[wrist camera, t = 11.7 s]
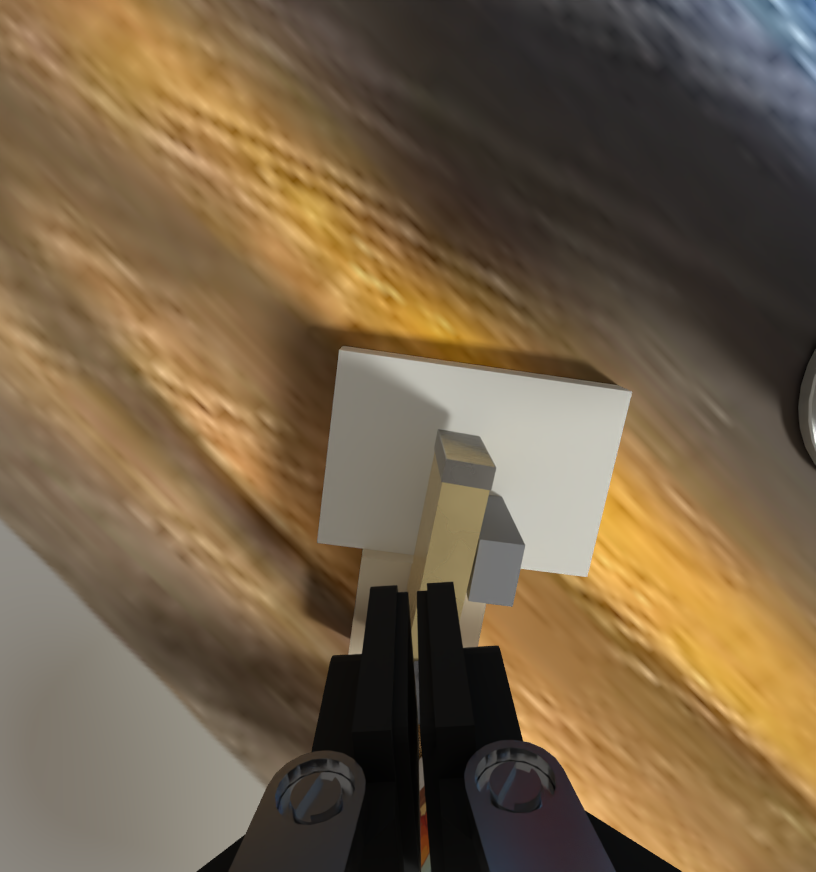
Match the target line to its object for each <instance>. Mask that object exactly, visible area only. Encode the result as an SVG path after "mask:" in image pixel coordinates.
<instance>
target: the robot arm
mask: <svg viewBox="0 0 816 872" xmlns="http://www.w3.org/2000/svg"><path fill="white" fill-rule="evenodd" d="M798 411H799V425H800V431H801V434H802V438H803V441H804V445H805V448H806V449H807V451H808V453H809V455H810V457H811V458H812V460H813V462H814V464H815V465H816V349H815V351H814V353H813V355H812V357H811V359H810V361H809V363H808V365H807V368H806V371H805V374H804V378H803V381H802V384H801V389H800V397H799V405H798ZM417 629H418V669H419V710H420V734H421V749H422V762H423V775H424V788H425V800H426V813H427V826H428V839H429V852H430V865H431V872H682V871H680V870H679V869H677V868H675V867H674V866H672V865H671V864H669V863H668V862H666V861H664V860H663V859H661V858H660V857H658V856H656V855H655V854H653V853H652V852H650V851H648V850H647V849H645V848H644V847H642V846H641V845H639V844H637V843H636V842H634V841H633V840H631V839H629V838H628V837H626V836H625V835H623V834H621V833H620V832H618V831H617V830H615V829H614V828H612V827H610V826H609V825H607V824H606V823H604V822H602V821H601V820H599V819H598V818H596V817H595V816H593V815H591V814H590V813H588V812H587V811H585V810H584V808H583V806H582V804H581V802H580V800H579V798H578V796H577V795H576V793H575V791H574V789H573V787H572V785H571V783H570V781H569V779H568V777H567V775H566V773H565V771H564V769H563V768H562V766H561V765H560V764H559V762H558V761H557V760H556V758H555V757H554V756H552V755H551V754H550V753H548V752H547V751H546V750H545V749H543V748H541V747H538V746H536V745H534V744H532V743H529V742H524V741H523V739H522V735H521V731H520V727H519V723H518V719H517V715H516V711H515V707H514V703H513V699H512V695H511V691H510V687H509V683H508V679H507V675H506V671H505V667H504V663H503V659H502V655H501V651H500V648H499V646H483V647H466V648H463V643H462V637H461V630H460V623H459V616H458V610H457V603H456V596H455V590H454V583H453V582H437V583H427V590H425V591H417ZM197 872H421V834H420V786H419V738H418V710H417V696H416V683H415V671H414V658H413V645H412V632H411V619H410V606H409V595H408V592H398V586H397V585H390V586H374V587H370V593H369V601H368V609H367V617H366V624H365V632H364V640H363V648H362V654H351V655H334V656H332V658H331V661H330V665H329V670H328V675H327V680H326V685H325V689H324V694H323V699H322V704H321V709H320V713H319V718H318V723H317V728H316V733H315V738H314V742H313V747H312V752H311V753H308V754H304V755H301V756H299V757H297V758H295V759H294V760H292V761H290V762H288V763H287V764H285V765H284V766H283V767H282V768H281V769H280V770H279V771H278V772H277V773H276V774H275V775H274V777H273V778H272V780H271V781H270V783H269V784H268V786H267V788H266V790H265V792H264V795H263V797H262V799H261V801H260V804H259V806H258V808H257V810H256V812H255V814H254V817H253V819H252V821H251V823H250V825H249V828H248V830H247V832H246V834H245V835H244V836H243V837H241V838H240V839H239V840H237V841H236V842H235V843H234V844H232V845H231V846H230V847H228V848H227V849H226V850H224V851H223V852H222V853H220V854H219V855H218V856H216V857H215V858H214V859H212V860H211V861H210V862H209V863H207V864H206V865H205V866H203V867H202V868H201V869H199V870H198V871H197Z"/></svg>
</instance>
